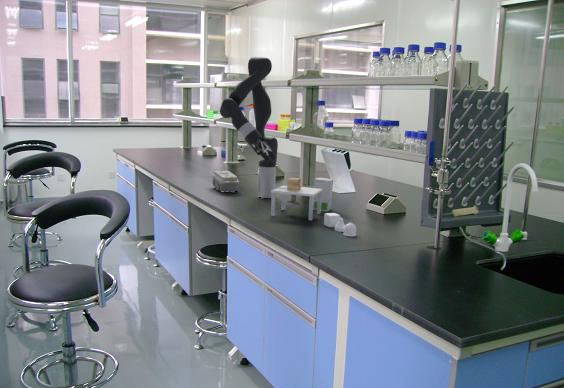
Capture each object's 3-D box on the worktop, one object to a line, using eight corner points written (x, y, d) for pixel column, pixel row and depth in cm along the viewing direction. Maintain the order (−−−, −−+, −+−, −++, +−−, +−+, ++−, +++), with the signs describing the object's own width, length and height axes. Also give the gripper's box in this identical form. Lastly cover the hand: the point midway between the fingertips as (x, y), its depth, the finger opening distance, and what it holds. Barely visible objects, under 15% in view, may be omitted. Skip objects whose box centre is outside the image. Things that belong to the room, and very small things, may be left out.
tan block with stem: (289, 202, 242) (290, 177, 240) (301, 203, 240) (302, 178, 238) (285, 204, 237) (286, 179, 235) (297, 205, 235) (298, 180, 233)
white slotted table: (282, 209, 250) (282, 185, 248) (321, 213, 243) (322, 189, 241) (270, 215, 235) (271, 190, 233) (311, 220, 228) (313, 194, 226)
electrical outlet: (227, 184, 312) (228, 168, 310) (242, 196, 287) (243, 179, 284) (209, 185, 308) (209, 169, 305) (222, 197, 282) (222, 179, 280)
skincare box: (312, 210, 250) (313, 179, 248) (315, 207, 257) (317, 177, 254) (328, 211, 248) (330, 180, 245) (331, 209, 254) (333, 178, 251)
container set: (323, 225, 221) (324, 213, 220) (333, 224, 223) (334, 212, 222) (347, 237, 203) (348, 224, 202) (358, 236, 205) (359, 223, 204)
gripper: (249, 129, 232) (272, 155, 231) (260, 127, 246) (282, 153, 244) (238, 140, 235) (260, 166, 233) (250, 138, 248) (271, 163, 247)
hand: (271, 159), depth 239 cm, fingers open, 8 cm apart
